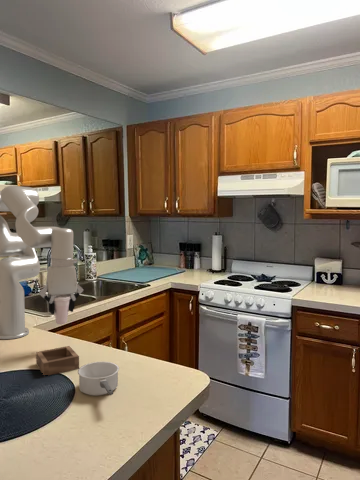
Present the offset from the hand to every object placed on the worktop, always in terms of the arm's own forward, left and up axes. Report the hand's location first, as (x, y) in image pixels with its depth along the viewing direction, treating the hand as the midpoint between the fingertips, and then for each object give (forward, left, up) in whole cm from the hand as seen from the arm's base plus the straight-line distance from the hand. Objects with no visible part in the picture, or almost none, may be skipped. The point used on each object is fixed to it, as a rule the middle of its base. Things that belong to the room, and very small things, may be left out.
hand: (61, 311), depth 130 cm
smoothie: (0, 0, -4) cm, 4 cm away
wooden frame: (+14, -5, -14) cm, 20 cm away
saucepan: (+39, 0, -14) cm, 42 cm away
